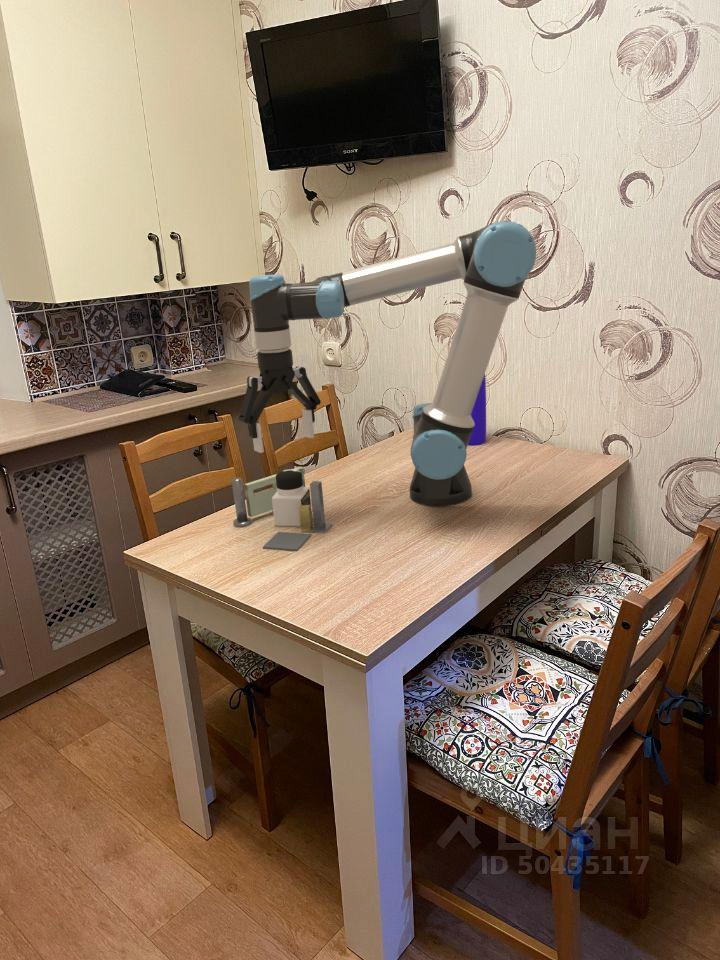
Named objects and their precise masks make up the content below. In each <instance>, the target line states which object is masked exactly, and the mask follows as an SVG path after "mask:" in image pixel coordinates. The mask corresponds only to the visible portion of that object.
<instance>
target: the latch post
mask: <svg viewBox="0 0 720 960" xmlns="http://www.w3.org/2000/svg"><path fill="white" fill-rule="evenodd" d="M309 490H310V500H311V505H300V506H299V515H300V525H301V526H300V532H301V533H302V532H303V533H319V534H326V533H327V532H328V531H329V530H330V529H331V528H332V527H333V522H326V515H325V504H324V493H323V492H324V491H323V484H322V481H321V480H320V481H318V480H316V481H315V480H313V481H311V482H310V483H309ZM311 510H312V514H311Z"/></svg>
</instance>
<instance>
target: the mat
mask: <svg viewBox="0 0 720 960" xmlns="http://www.w3.org/2000/svg"><path fill="white" fill-rule="evenodd" d="M311 537H312V534H311V533H305V532H303V533H302V532H290V531H289V532H288V531H277V532H276V533H275V534H274V535H273V536H272V537H271V538H270V539H269V540H268V541H267V542H266V543H265V544H264V545H263V546H262V549H265V550H266V549H267V550H277V551H278V550H279V551H290V552H298V551H299V550H300V549H301V548H302V547H303V545H305V543H306V542H307V541H308V540H309V539H310V538H311Z"/></svg>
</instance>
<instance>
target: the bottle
mask: <svg viewBox="0 0 720 960" xmlns="http://www.w3.org/2000/svg"><path fill="white" fill-rule="evenodd" d="M486 381H487V380H486V374H485V375H484V377H483V380H482V383H481V386H480V389H479V392H478V395H477V398H476V401H475V404H474V407H473V409H472V412H471V417H472V419H473V421H474V423H475V425H474V428H473V431H472V434H471V437H470V440H469V443H468V446H479V445H483V444H485V443H486V441H487V440H486V439H487V387H486V386H487V385H486V383H487V382H486Z"/></svg>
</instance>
